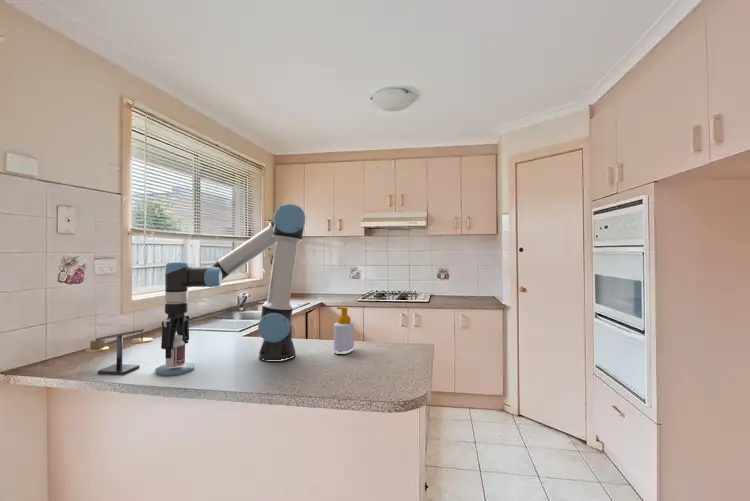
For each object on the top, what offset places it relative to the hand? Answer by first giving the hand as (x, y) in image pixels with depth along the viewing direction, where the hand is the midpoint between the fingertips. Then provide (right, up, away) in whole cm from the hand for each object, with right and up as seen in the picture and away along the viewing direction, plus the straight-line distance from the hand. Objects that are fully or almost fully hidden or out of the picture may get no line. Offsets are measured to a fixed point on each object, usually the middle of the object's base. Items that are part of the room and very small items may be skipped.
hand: (175, 363), depth 140 cm
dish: (0, -3, 0) cm, 3 cm away
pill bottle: (0, -1, 0) cm, 1 cm away
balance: (-20, -2, -2) cm, 20 cm away
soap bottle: (+61, -4, +30) cm, 68 cm away
